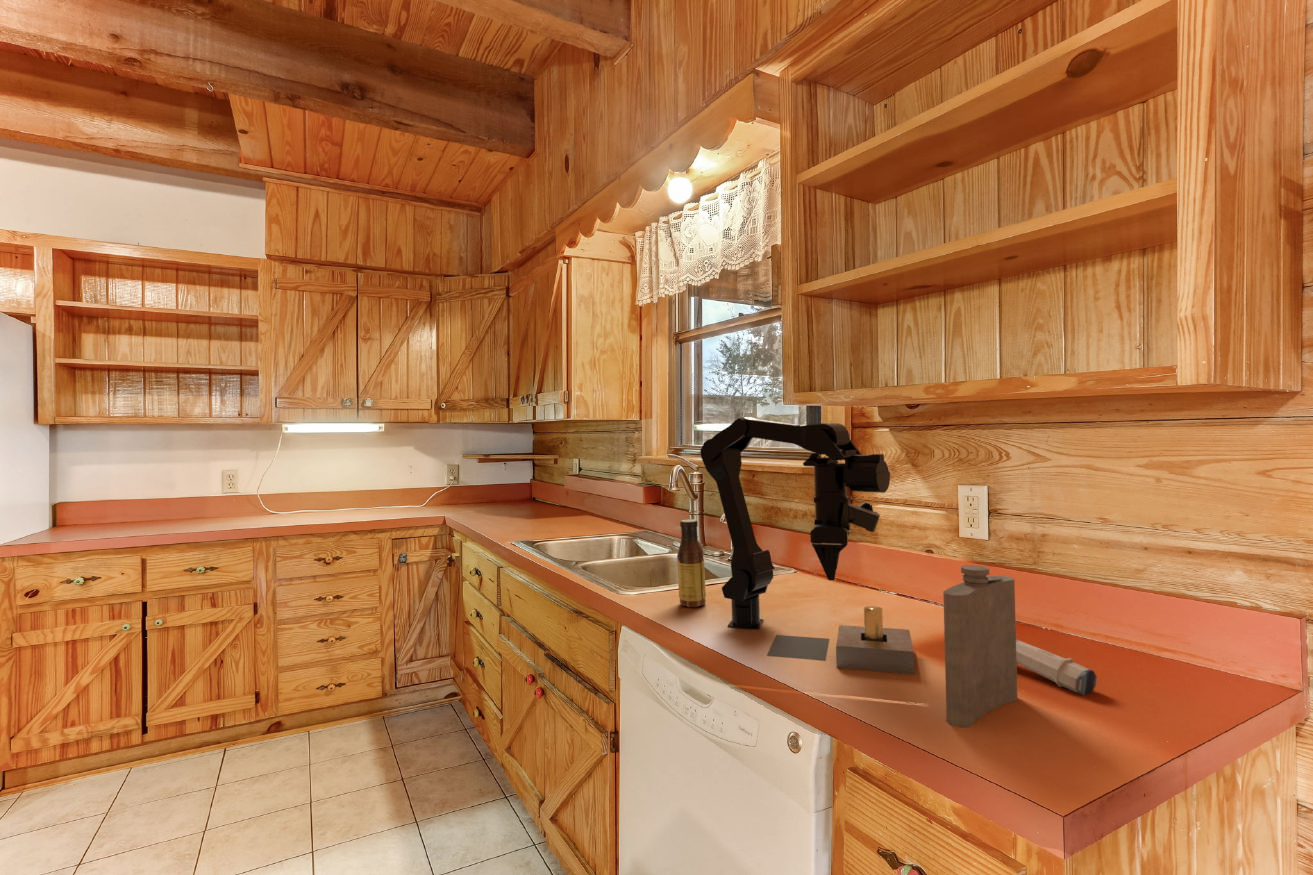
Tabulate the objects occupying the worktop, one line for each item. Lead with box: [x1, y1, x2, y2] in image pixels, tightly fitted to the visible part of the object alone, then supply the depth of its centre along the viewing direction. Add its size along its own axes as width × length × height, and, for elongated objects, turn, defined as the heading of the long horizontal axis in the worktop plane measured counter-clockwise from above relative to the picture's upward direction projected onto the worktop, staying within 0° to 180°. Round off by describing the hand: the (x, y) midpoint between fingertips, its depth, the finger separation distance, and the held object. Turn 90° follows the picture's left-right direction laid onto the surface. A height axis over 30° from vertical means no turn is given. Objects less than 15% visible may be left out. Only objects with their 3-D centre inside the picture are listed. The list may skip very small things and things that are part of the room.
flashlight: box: [1016, 639, 1098, 696], centre depth 106 cm, size 5×7×25 cm
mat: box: [766, 634, 830, 661], centre depth 117 cm, size 12×10×1 cm
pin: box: [863, 605, 884, 642], centre depth 110 cm, size 3×3×9 cm
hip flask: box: [942, 564, 1018, 728], centre depth 90 cm, size 16×4×20 cm, turn 126°
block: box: [835, 624, 915, 675], centre depth 110 cm, size 12×12×4 cm
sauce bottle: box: [676, 518, 707, 608], centre depth 149 cm, size 6×6×20 cm
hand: (832, 574), depth 119 cm, fingers open, 9 cm apart
